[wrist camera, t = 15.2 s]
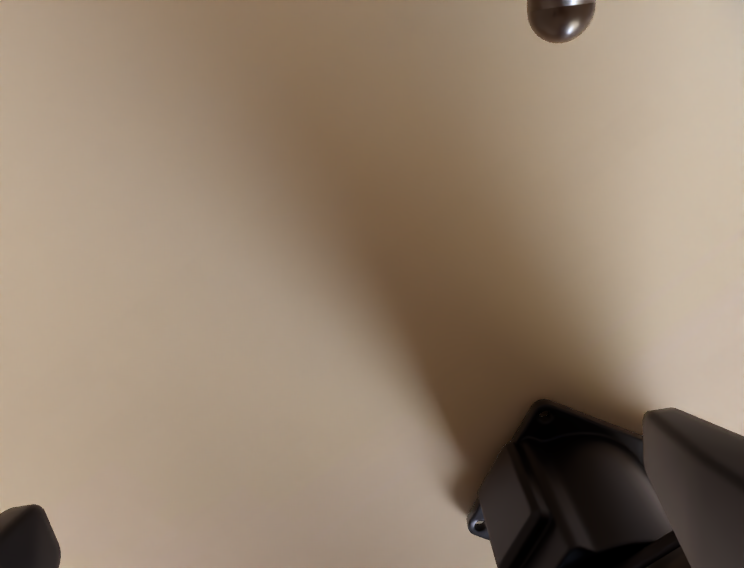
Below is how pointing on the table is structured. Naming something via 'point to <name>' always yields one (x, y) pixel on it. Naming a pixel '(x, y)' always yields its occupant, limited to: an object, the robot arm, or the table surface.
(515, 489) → the robot arm
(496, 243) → the table surface
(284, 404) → the table surface
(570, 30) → the pot handle
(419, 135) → the table surface
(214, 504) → the table surface
